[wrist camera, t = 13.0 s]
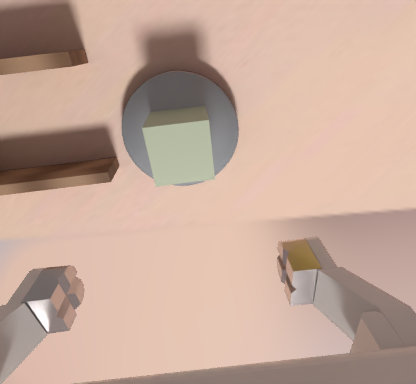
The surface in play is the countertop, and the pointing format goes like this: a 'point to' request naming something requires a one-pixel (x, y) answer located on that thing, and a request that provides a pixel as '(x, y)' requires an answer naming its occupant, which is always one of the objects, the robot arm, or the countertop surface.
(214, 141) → the grey round glossy part
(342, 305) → the robot arm
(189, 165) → the cube
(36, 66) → the cubby
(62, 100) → the countertop surface
